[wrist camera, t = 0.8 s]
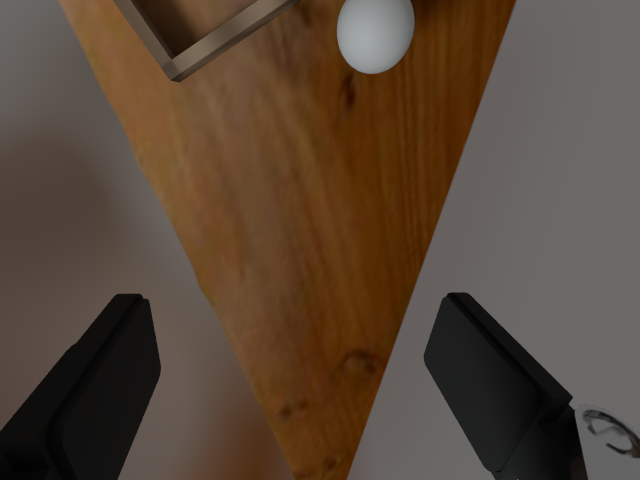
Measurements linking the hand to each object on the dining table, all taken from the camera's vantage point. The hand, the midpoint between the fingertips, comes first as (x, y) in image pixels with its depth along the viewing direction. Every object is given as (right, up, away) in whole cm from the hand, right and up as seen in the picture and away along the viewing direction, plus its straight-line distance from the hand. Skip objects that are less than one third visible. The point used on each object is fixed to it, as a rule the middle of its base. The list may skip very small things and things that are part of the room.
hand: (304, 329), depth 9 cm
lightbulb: (+4, +23, +21) cm, 32 cm away
